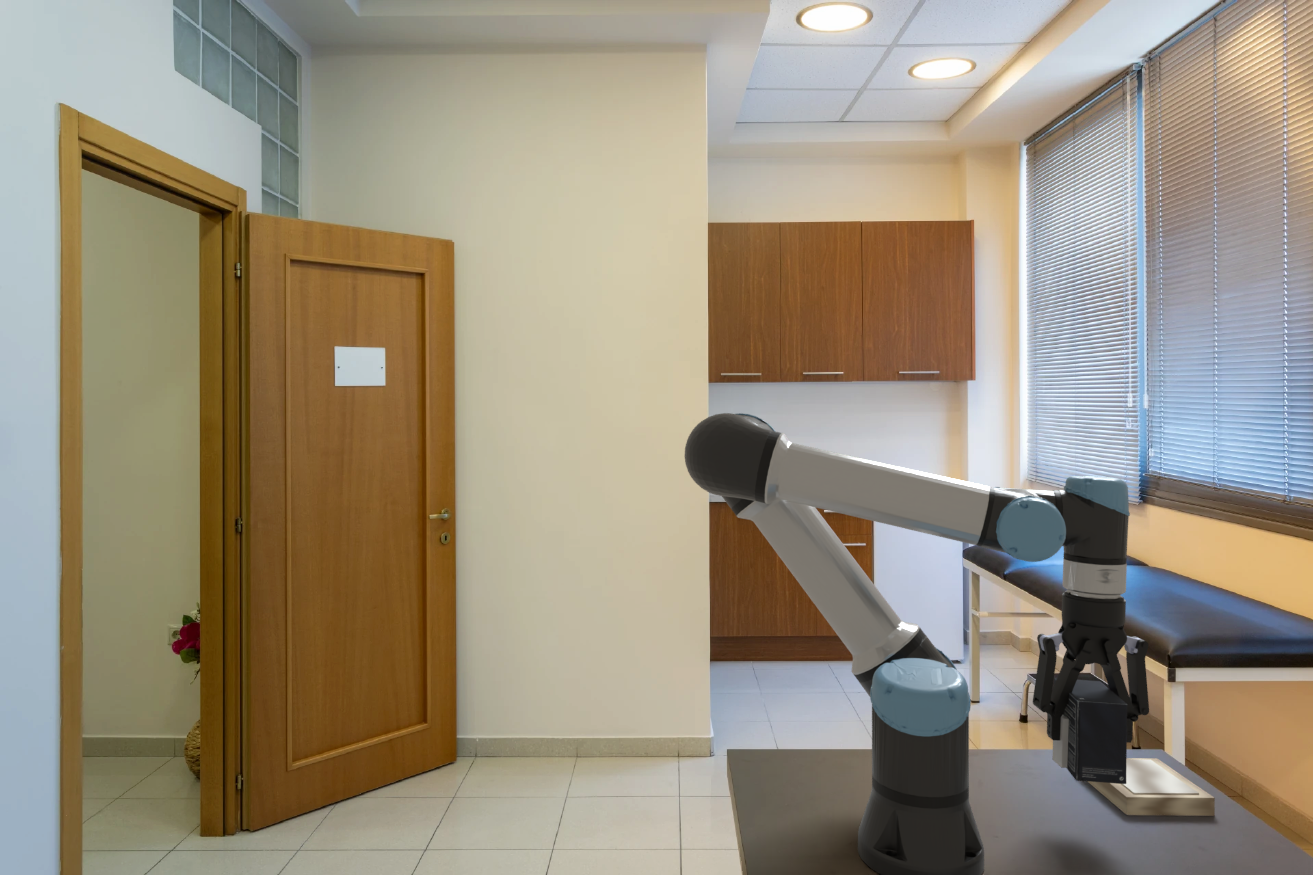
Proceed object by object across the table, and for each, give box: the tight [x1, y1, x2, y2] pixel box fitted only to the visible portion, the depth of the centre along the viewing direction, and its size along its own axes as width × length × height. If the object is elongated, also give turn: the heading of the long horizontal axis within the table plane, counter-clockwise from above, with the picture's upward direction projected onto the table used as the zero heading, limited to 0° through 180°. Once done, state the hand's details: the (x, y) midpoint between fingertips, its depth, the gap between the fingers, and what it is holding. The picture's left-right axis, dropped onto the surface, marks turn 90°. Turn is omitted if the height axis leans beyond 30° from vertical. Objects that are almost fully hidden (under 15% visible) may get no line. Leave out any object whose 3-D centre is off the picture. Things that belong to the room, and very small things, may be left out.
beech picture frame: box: [1087, 757, 1216, 817], centre depth 123 cm, size 12×14×3 cm
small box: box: [1053, 677, 1128, 784], centre depth 112 cm, size 11×6×10 cm, turn 170°
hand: (1088, 764), depth 112 cm, fingers closed on small box, 7 cm apart
